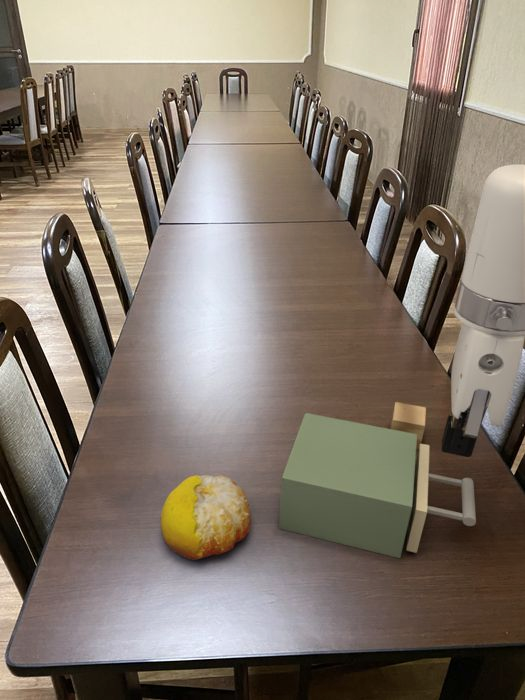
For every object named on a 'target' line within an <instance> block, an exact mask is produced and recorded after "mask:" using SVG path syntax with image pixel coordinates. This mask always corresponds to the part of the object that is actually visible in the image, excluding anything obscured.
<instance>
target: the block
mask: <svg viewBox="0 0 525 700" xmlns="http://www.w3.org/2000/svg"><path fill="white" fill-rule="evenodd" d="M426 413H427V407H426V406H421V405H415V404H410V403H404V402H399V401H395V402H394V407H393V414H392V419H391V424H390V429H392V430H397V431H402V432H407V433H413V434H417V446H416V450H419V446H420V444H422V442H423V438H424V437H423V436H424V432H425V429H426V418H427V414H426Z"/></svg>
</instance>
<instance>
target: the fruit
mask: <svg viewBox="0 0 525 700" xmlns="http://www.w3.org/2000/svg"><path fill="white" fill-rule="evenodd" d="M249 506H250V504H249V503H248V498H247V496H246V493H245V490H244V489H242V487H240V486H239V485H238V483H236V482H235V480H234V479H232V478H230V477H228V476H226V475H223V474H218V475H216V476H213V475H208V474H203V475H198V474H197V475H191V476H189V477H187V478H185V479H184V480H183V481H182V482H180V484H179V485H177V486H176V487H175V488H174V489H173V490H172V491H170V493H169V495H168V496H167V498H166V500H165V501H164V504H163V506H162V509H161V513H160V528H161V534H162V537H163V539H164V542H165V543H166V545H168V547H169V548H170V549H171V550H172V551H173V552H175V553H176V554H178V555H180V556H182V557H184V558H185V559H188V560H189V561H195V560H199V559H202V558H207V557H210V556H220V555H222V554H225V553H226V552H230V551H231V550H232V551H233V550H234V547H235V544H236V543H239V542H240V541H243V540H245V538H246V537H247V536H248V534H249V532H250V527H251V523H252V522H251V521H252V517H251V510H250V509H249Z"/></svg>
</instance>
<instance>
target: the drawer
mask: <svg viewBox="0 0 525 700" xmlns="http://www.w3.org/2000/svg"><path fill="white" fill-rule="evenodd" d="M430 448H431V447H430V444H424V443H421V444H420V446H419V449H417V454H416V460H415V475H414V489H413V504H412V510H411V514H410V519H409V523H408V527H407V532H406V548H405V550H406V552H412V553H415V554H417V553H418V550H419V545H420V541H421V537H422V534H423V530H424V526H425V523H426V518H427V516H428V515H427V514H431V515H435V516H440V517H443V518H448V519H454V520H458V521H462V524H464V525H465V526H468V527H473V526H475V525H476V524H477V518H476V515H477V514H476V501H475V500H476V499H475V485H474V484H475V483H474V480H473V479H472V478H470V477H464V478H462V479H458V478H454V477H448V476H444V475H438V474H434V473H430ZM429 481H433V482H437V483H441V484H447V485H451V486H455V487H460V488H461V509H462V512H459V511H458V512H457V511H453V510H449V509H444V508H440V507H436V506H430V505H428V504H429V503H428V500H429V499H428V497H429Z"/></svg>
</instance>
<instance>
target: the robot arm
mask: <svg viewBox="0 0 525 700" xmlns="http://www.w3.org/2000/svg"><path fill="white" fill-rule="evenodd" d="M453 315H454V316H455V318H456V319H457V320H458V321H459V322H461V325H460V330H459V334H458V337H457V342H456V345H455V351H454V354H453V359H452V366H451V375H450V391H451V392H450V393H451V396H450V397H451V398H450V399H451V400H450V401H451V408H450V415H449V414H448V416H447V418H446V423H445V426H444V430H443V434H442V438H441V452H442V453H444V454H445V453H446V454H449V455H455V456H459V457H465V458H470V457H472V456H473V452H474V449H475V446H476V442H477V439H478V436H479V434H480V429H481V427H482V423H483V421H484V418H485V415H486V412H487V413H488V418H489V422H490V425H491V426H493V427H496V428H499V427H502V425H504V423H505V420H506V416H507V414H508V409H509V405H510V402H511V399H512V396H513V393H514V392H513V391H514V388H515V384H516V380H517V377H518V373H519V368H520V365H521V360H522V355H523V350H524V344H525V164H522V163H519V164H517V163H516V164H507V165H502V166H499V167H497V168H495V169H494V170H492V172H491V173H489V175H488V176H487V178H486V179H485V182H484V183H483V188H482V191H481V195H480V198H479V203H478V208H477V212H476V216H475V220H474V224H473V228H472V232H471V237H470V240H469V245H468V248H467V252H466V257H465V261H464V265H463V270H462V274H461V277H460V282H459V285H458V290H457V294H456V297H455V301H454V307H453Z"/></svg>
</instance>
